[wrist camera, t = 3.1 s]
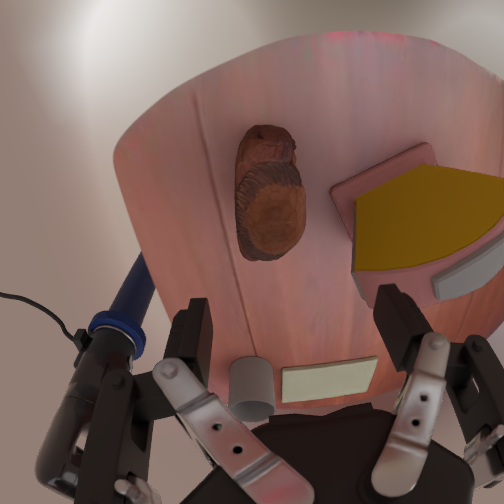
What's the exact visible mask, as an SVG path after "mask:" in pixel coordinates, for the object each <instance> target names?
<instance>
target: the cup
mask: <svg viewBox="0 0 504 504" xmlns="http://www.w3.org/2000/svg"><path fill="white" fill-rule="evenodd" d="M228 408H229V409H230V410H231V411H232V412H233V413H234V414H235V415H236V417H237V418H238V419H239V420H240V421H244V422H259V421H264V420H267V419H269V416H271V415H274V414H275V412H276V404H275V392H274V381H273V369H272V366H271V364H270V363H269V362H268V361H267V360H266V359H263V358H259V357H244V358H240V359H237V360H236V361H235V362H234V363H232V364H231V367H230V376H229V403H228Z"/></svg>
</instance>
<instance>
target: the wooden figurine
mask: <svg viewBox="0 0 504 504" xmlns="http://www.w3.org/2000/svg"><path fill="white" fill-rule="evenodd" d="M295 149H296V145H295V141H294V140H293V139H292V137H291V135H290V134H289V132H288V131H286V130H285V129H284V128H280V127H275V126H272V125H261V126H258V125H255V126H253V127H252V128H250V129H249V130H248V131H247V132H246V134H245V136H244V137H243V139H242V141H241V142H240V145H239V148H238V153H237V157H236V162H235V196H234V198H235V218H236V229H237V239H238V244H239V248H240V252H241V254H242V256H243V257H244V258H246V259H247V260H249V261H257V260H262V261H271V260H277V259H279V258H280V257H282V256H283V255H284V254H286V253H287V252H288V251H289V250H291V249H292V248H293V247H294V246H295V245H296V244H297V243H298V241H299V240H300V238H301V236H302V234H303V232H304V229H305V225H306V195H305V192H304V186H303V185H302V181H301V178H300V173H299V171H298V169H297V168H296V166H295V163H296V156H295V153H294V151H293V150H295Z"/></svg>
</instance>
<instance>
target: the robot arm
mask: <svg viewBox="0 0 504 504" xmlns="http://www.w3.org/2000/svg"><path fill="white" fill-rule="evenodd" d="M0 297H4V298H9V299H16V300H20V301H23V302H26V303H28V304H30V305H32V306H34V307H36V308H38V309H40V310H42V311H43V312H45V313H47V314H48V315H49V316H51V317H52V318H53V319H54V320H56V322H57V323H58V324H59V325H60V326H61V328H62V331H63V333H64V334H65V335H66V336H67V337H68V338H69V339H70V340H71V341H73V342H74V344H75V345H76V347H77V349H78V351H79V354H78V356H77V358H76V360H75V362H74V367H75V369H76V370H75V372H74V374H73V377H72V379H71V381H70V383H69V386H68V389H67V391H66V393H65V395H64V398H63V400H62V402H61V405H60V407H59V409H58V410H57V412H56V414H55V416H54V418H53V420H52V422H51V424H50V427H49V429H48V432H47V434H46V436H45V439H44V441H43V443H42V445H41V448H40V450H39V452H38V455H37V459H36V462H35V476H36V479H37V481H38V482H39V483H40V484H41V485H43V486H44V487H46V488H48V489H49V490H51V491H53V492H55V493H57V494H59V495H61V496H63V497H65V498H67V499H69V500H72V501H74V504H162V503H161V497H160V494H159V493H158V491H157V490H156V489H154V488H153V487H152V486H151V485H149V484H148V483H147V479H148V468H149V458H150V449H151V441H152V432H153V424H154V420H157V419H162V418H166V417H170V416H174V417H175V419H176V420H177V421H178V423H179V424H180V426H181V427H182V428H183V430H184V431H185V433H186V434H187V435H188V437H189V438H190V439H191V440H192V442H193V443H194V444H195V446H196V447H197V449H198V450H199V452H200V453H201V455H202V456H203V457H204V459H205V460H206V461H207V462H208V463H209V465H210V466H211V467H212V468H213V470H212V471H211V472H210V473H209V474H208V475H207V477H206V478H205V479H204V480H203V481H202V482H201V483H200V484H199V485H198V486H197V487H196V488H195V489H194V490H193V491H192V492H191V493H190V494H189V495H188V496H187V497H186V498H185V499H184V500H183V501H182V502H181V503H180V504H472V497H473V492H474V491H476V490H478V489H480V488H481V487H484V488H492V487H494V486H495V485H497V484H498V483H500V482H501V481H503V480H504V369H503V367H502V365H501V363H500V361H499V360H498V358H497V356H496V354H495V353H494V351H493V349H492V348H491V346H490V344H489V343H488V341H487V340H486V339H485V338H483V337H482V336H479V335H470V336H468V337H467V338H466V340H465V342H464V343H452V342H449V340H448V338H447V337H446V336H444V335H443V334H441V333H438V332H434V331H433V329H432V328H431V326H430V325H429V323H428V321H427V320H426V318H425V317H424V315H423V313H421V310H420V309H419V307H417V304H416V303H415V301H414V300H413V298H412V297H410V296H409V295H408V294H406V293H405V292H403V293H401V291H400V290H399V288H398V287H397V285H396V284H395V283H391V284H382V285H379V287H378V291H377V296H376V300H375V305H374V310H373V317H374V322H375V324H376V326H377V328H378V330H379V333H380V335H381V337H382V339H383V341H384V343H385V346H386V348H387V350H388V352H389V355H390V357H391V359H392V362H393V364H394V366H395V368H396V371H397V372H400V371H405V370H406V373H407V375H406V377H405V380H404V382H403V385H402V388H401V391H400V393H399V395H398V398H397V401H396V403H395V406H394V408H393V410H392V412H391V413H390V412H387V411H383V410H379V409H373V407H372V404H371V402H370V403H364V404H359V405H354V406H347V407H345V408H342V409H340V410H337V411H335V412H332V413H330V414H327V415H324V416H314V415H303V414H284V415H271V416H269V423H265V424H262V425H260V426H258V427H256V428H254V429H252V430H251V431H250V430H249V429H248V428H247V427H246V426H245V425H244V424H243V423H242V422H241V421H240V420H239V419H238V418H237V417H236V415H235V414H234V413H233V412H232V411H231V410H230V409H229V408H228V407H227V406H226V405H225V404H224V402H223V401H222V400H221V399H220V398H219V397H218V396H217V395H216V394H215V393H209V392H208V390H207V388H208V377H209V368H210V358H211V349H212V339H213V324H212V319H211V313H210V308H209V303H208V299H207V298H191V299H190V303H189V307H188V309H187V310H180V311H179V312H178V313H177V314H176V315H175V317H174V319H173V322H172V327H171V330H170V335H169V338H168V341H167V345H166V349H165V353H164V357H163V360H161V361H159V362H158V363H157V364H156V365H155V366H154V368H153V370H152V371H150V372H146V373H142V374H138V375H132V374H131V372H132V369H133V363H132V362H133V359H134V357H135V355H136V352H137V343H136V341H135V339H134V338H133V337H132V336H131V335H130V334H129V333H128V332H127V331H126V330H124V329H122V328H120V327H118V326H116V325H112V324H101V325H98V326H97V327H96V328H95V329H91V330H90V331H89V333H87V331H86V329H78V330H77V332H76V333H75V335H74V337H73V336H72V335H71V334H70V333H69V332H68V331H67V330H66V328H65V325H64V323H63V322H62V321H61V320H60V319H59V318H58V317H57V316H56V315H55V314H54V313H52V312H51V311H50V310H48V309H47V308H45V307H43V306H42V305H40V304H38V303H36V302H34V301H32V300H30V299H28V298H25V297H22V296H18V295H12V294H5V293H1V292H0ZM130 369H131V372H129V371H130ZM473 378H474V380H475V382H476V384H477V386H478V388H479V393H478V390H477V388H476V386H475V384H474V382H473ZM445 388H446V390H447V393H448V395H449V398H450V400H451V403H452V405H453V408H454V410H455V413H456V416H457V418H458V421H459V424H460V426H461V429H462V432H463V435H464V438H465V441H466V444H467V445H466V446H465V449H464V458H463V459H462V458H461V457H459V456H457V455H456V454H454V453H453V452H451V451H450V450H448V449H446V448H445V447H443V446H442V445H440V444H439V443H437V442H435V441H434V440H432V439H431V437H432V434H433V431H434V428H435V424H436V421H437V417H438V414H439V411H440V407H441V403H442V399H443V395H444V391H445ZM79 436H85V437H87V440H86V444H85V448H84V450H83V449H81V448H80V447H78V446H76V443H77V440H78V438H79Z"/></svg>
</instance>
